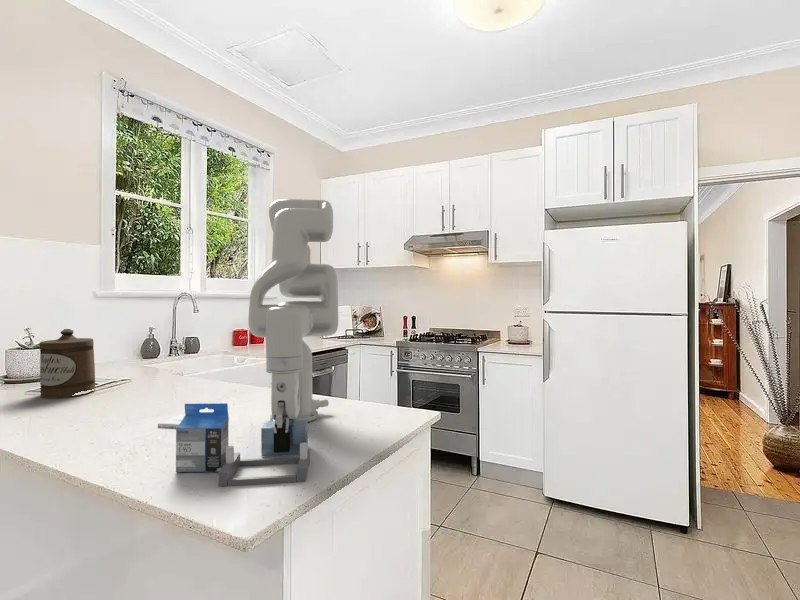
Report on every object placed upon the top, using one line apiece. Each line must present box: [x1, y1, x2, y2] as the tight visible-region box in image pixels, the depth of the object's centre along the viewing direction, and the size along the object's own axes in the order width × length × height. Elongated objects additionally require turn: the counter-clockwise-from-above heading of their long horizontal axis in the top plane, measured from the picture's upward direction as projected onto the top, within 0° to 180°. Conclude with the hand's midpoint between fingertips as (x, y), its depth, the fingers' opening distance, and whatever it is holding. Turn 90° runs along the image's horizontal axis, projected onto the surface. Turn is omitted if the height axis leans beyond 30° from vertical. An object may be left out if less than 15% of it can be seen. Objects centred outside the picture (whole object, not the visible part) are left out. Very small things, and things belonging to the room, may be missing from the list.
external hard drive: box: [157, 410, 214, 429], centre depth 116 cm, size 2×8×12 cm
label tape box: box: [175, 402, 230, 473], centre depth 84 cm, size 9×4×12 cm, turn 90°
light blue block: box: [260, 420, 309, 457], centre depth 93 cm, size 5×9×6 cm, turn 97°
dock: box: [217, 443, 311, 487], centre depth 82 cm, size 10×15×5 cm, turn 97°
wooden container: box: [39, 328, 96, 399], centre depth 148 cm, size 15×15×22 cm
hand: (285, 443), depth 93 cm, fingers open, 9 cm apart
